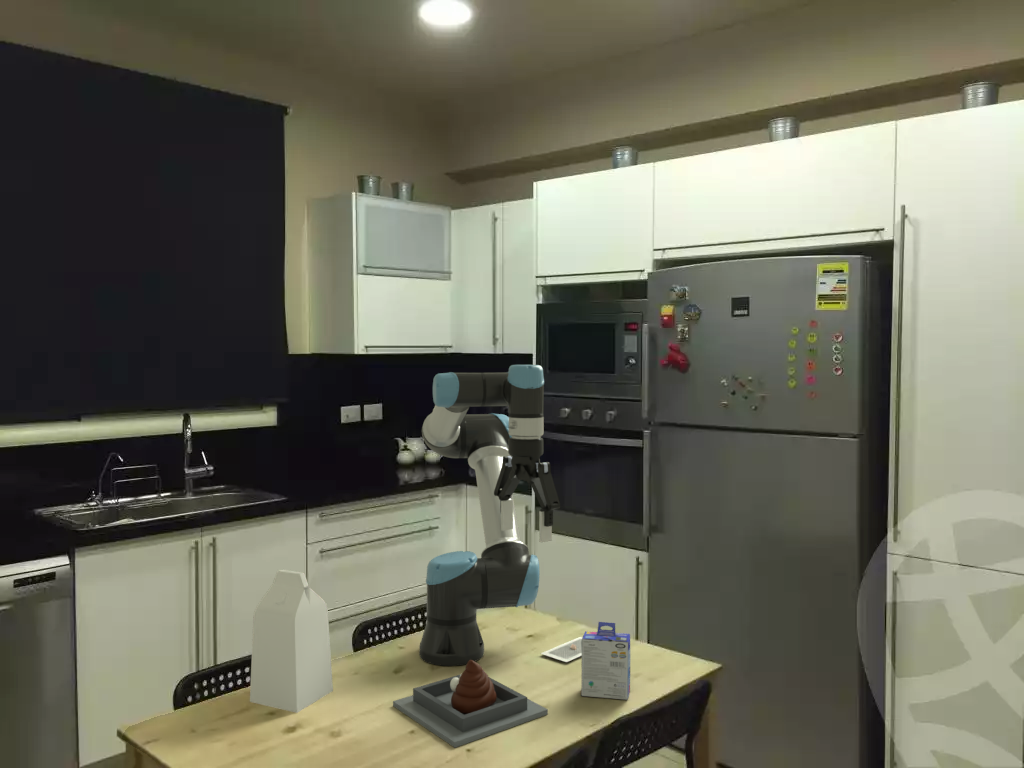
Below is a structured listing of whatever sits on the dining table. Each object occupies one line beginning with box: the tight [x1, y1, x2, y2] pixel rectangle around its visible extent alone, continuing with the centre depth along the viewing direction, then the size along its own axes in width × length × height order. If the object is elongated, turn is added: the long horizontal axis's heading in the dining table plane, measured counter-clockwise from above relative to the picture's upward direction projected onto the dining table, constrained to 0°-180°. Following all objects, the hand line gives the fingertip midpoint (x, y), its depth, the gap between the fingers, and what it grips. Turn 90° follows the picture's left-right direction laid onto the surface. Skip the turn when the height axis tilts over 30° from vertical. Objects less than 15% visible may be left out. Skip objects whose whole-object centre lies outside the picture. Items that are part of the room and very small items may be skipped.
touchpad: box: [540, 636, 583, 663], centre depth 196 cm, size 8×15×2 cm, turn 138°
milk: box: [249, 568, 334, 714], centre depth 171 cm, size 12×12×26 cm
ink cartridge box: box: [580, 621, 631, 700], centre depth 172 cm, size 10×6×14 cm, turn 78°
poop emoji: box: [450, 660, 496, 714], centre depth 165 cm, size 10×8×9 cm
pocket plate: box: [392, 673, 549, 748], centre depth 165 cm, size 22×22×4 cm
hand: (525, 535), depth 178 cm, fingers open, 13 cm apart
